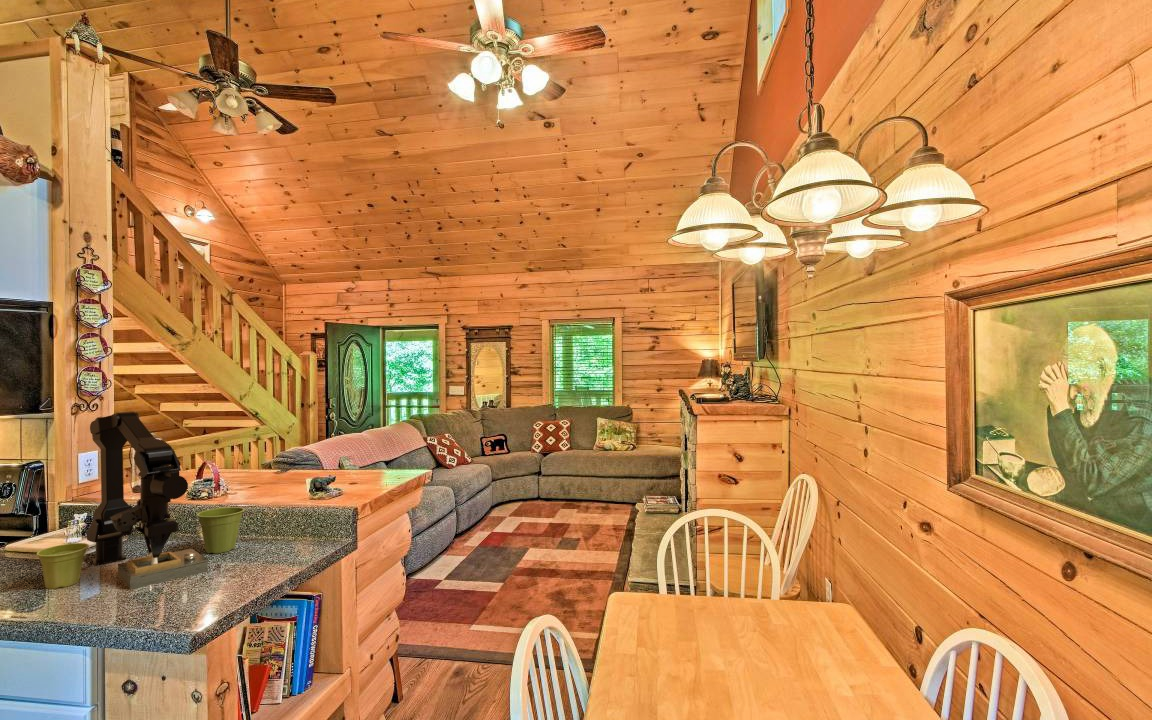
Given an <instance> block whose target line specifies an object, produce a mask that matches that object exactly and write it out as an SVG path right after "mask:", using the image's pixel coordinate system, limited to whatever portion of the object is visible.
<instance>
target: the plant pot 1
mask: <svg viewBox="0 0 1152 720" xmlns="http://www.w3.org/2000/svg"><path fill="white" fill-rule="evenodd" d="M89 546H90V545H89V544H88V543H86V542H85V543H84V542H73V543H64V544H58V545H54V546H50V547H47V548H44V549H41V550H39V551H37V552H36V556H37V557H38V559H39V562H40V563H41V569H42V570H41V571H42V575H43V582H44V587H45V588H46V589H49V590H50V589H51V590H54V589H55V590H56V589H58V588H60V587H61V588H63V587H64V588H65V587H71V586H73V585H76V584H77V583H79V582H80V580H81V579H80V578H81V574H82V573H81V572H82V567H83V562H84V559H85V558H84V557H85V554H86V553H87V549H88V548H89Z"/></svg>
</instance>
